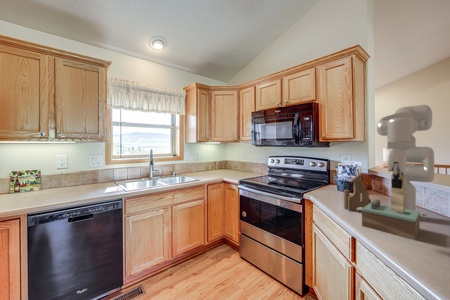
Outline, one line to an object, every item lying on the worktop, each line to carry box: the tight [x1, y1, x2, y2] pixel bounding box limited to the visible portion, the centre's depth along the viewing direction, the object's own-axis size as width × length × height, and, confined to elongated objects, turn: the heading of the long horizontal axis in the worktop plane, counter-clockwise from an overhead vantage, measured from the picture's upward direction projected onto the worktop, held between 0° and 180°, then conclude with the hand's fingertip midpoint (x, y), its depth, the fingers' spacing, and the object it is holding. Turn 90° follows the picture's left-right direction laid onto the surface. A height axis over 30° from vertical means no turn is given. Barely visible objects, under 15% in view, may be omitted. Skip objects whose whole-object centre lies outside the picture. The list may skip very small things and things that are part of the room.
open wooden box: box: [361, 211, 421, 241], centre depth 99 cm, size 16×20×9 cm
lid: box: [361, 199, 421, 222], centre depth 99 cm, size 16×20×4 cm
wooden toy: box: [343, 173, 373, 212], centre depth 128 cm, size 16×7×25 cm, turn 72°
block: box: [390, 174, 405, 213], centre depth 86 cm, size 4×4×16 cm
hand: (397, 186), depth 85 cm, fingers closed on block, 4 cm apart
